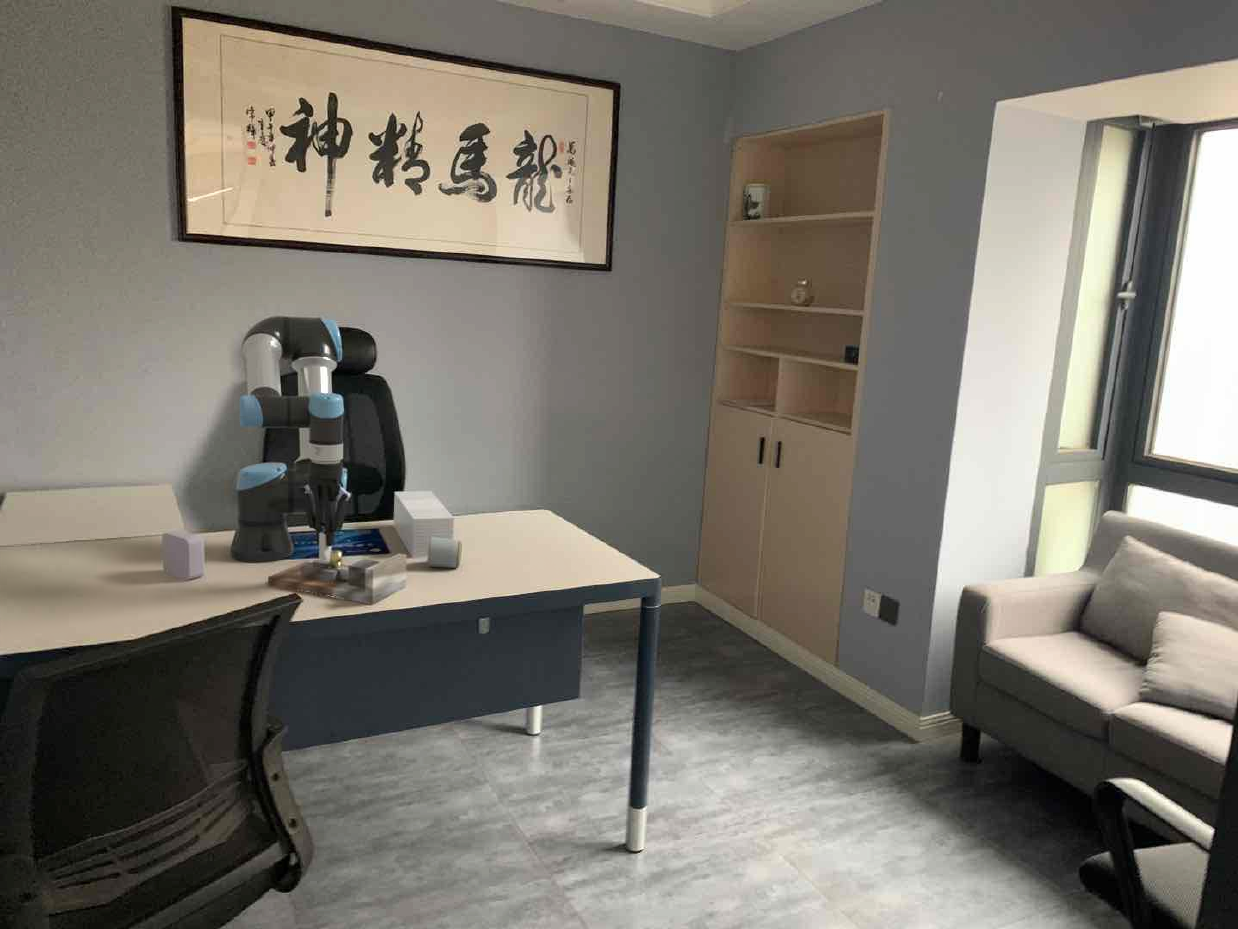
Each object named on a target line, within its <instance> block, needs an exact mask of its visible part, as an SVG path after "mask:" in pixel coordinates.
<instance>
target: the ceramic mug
mask: <svg viewBox="0 0 1238 929" xmlns="http://www.w3.org/2000/svg"><path fill="white" fill-rule="evenodd" d="M462 549H463V542H462V541H461V540H457V539H454V538H453V539H445V538H438V537H431V539H430V542H429V550H428V557H427V567H429V568H448V569H449V568H452V569H453V568H455V569H456V568H458V567H459V566H460V565H461V560H462V551H463V550H462Z"/></svg>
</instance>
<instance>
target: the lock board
mask: <svg viewBox="0 0 1238 929" xmlns="http://www.w3.org/2000/svg"><path fill="white" fill-rule="evenodd" d="M342 566H346V567H349V572H348V580H342V579H338V570H332V569H328V567H330V561H327V560H320V559H315V560H313V561H312V562H311V561H304V562H301V563H299V564H296V565H294V566H292V567H289V568H286V569H284V570H282V571H279V572H277V573H275V574H272V575H270V576H268V577H267V585H268V586H272V587H277V588H281V589H282V588H283V589H288V590H292V589H293V590H292V591H297V590H299V592H302V591H309V592H313V593H317V594H316V595H318V594H322V595H321V596H324V595H329V596H334V597H339V598H338V599H340V598H344V599H343V600H345V599H348V600H347V601H350V600H352V601H351V602H356V601H361V602H364V603H363V604H366V603H370V604H369V605H372V604H373V605H375V604H377V603H378V602H377V601H379V602H381V601H382V600H384V599H386V598H387V597H386V596H388V595H390V596H391V594H392V593H393V594H395V593H397V592H398V591H397V590H399V589H401V590H403V589H405V588H406V587H405V586H406V583H407V554H403V553H397V554H395V555H393V556H390V557H389V558H387V559H384V560H382V561H378V560H372V559H366V558H363V559H361V560H359V561H356V562H354V563H352V564H344V563H342ZM404 587H405V588H404ZM402 588H403V589H402ZM301 590H302V591H301ZM396 591H397V592H396ZM399 591H400V590H399ZM394 592H395V593H394ZM313 593H312V594H313ZM393 594H392V595H393ZM329 596H328V597H329ZM334 597H333V598H334ZM385 597H386V598H385ZM388 597H389V596H388ZM383 598H384V599H383ZM361 602H360V603H361ZM376 602H377V603H376ZM374 603H375V604H374Z"/></svg>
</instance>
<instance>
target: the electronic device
mask: <svg viewBox="0 0 1238 929" xmlns="http://www.w3.org/2000/svg"><path fill="white" fill-rule="evenodd" d="M161 540H162V566H163V572H164V573H165V575H166V574H167V575H169V576H172V577H173V578H178V579H180V580H184V581H191V580H193V579H198V578H201V577H203V576H204V574H205V571H206V570H205V569H206V568H205V540H204V538H203V537H202V536H199V535H197V534H194V533H189V532H188V531H183V530H179V529H178V530H174V531H173V530H172V531H170V532H164V533H162V538H161Z"/></svg>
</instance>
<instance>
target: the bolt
mask: <svg viewBox="0 0 1238 929" xmlns="http://www.w3.org/2000/svg"><path fill="white" fill-rule="evenodd" d="M342 558H343V552H342V551H341V550H338V549H336V550H335V549H333V550H331V552H330V558H329V562H330V567H328V569H332V570H338V579H342V580H348V572H349V567H346V566H342V564H343V561H342V560H343V559H342Z"/></svg>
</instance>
